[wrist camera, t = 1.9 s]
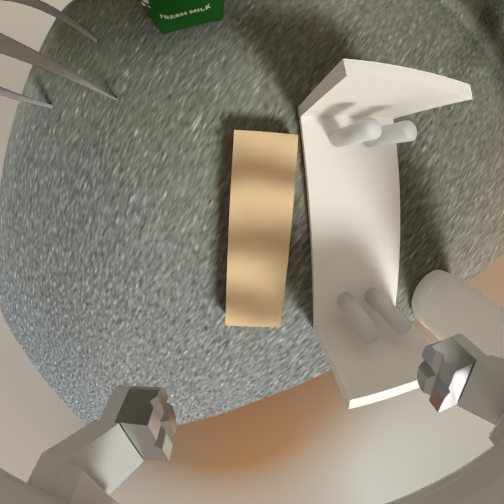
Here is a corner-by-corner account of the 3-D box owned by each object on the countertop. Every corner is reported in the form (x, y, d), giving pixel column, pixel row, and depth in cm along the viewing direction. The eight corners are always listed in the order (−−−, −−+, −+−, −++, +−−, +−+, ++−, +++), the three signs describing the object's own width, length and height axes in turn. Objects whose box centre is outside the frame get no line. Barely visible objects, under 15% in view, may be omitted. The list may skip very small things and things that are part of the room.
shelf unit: (388, 110, 26) (469, 84, 13) (391, 312, 33) (449, 375, 20) (297, 107, 26) (343, 58, 13) (313, 327, 33) (348, 409, 20)
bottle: (412, 329, 34) (536, 478, 5) (406, 284, 32) (573, 440, 3) (452, 304, 34) (583, 420, 5) (448, 259, 31) (614, 368, 3)
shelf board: (234, 134, 27) (234, 129, 24) (292, 138, 27) (298, 135, 25) (226, 312, 32) (225, 325, 30) (277, 314, 33) (280, 327, 30)
